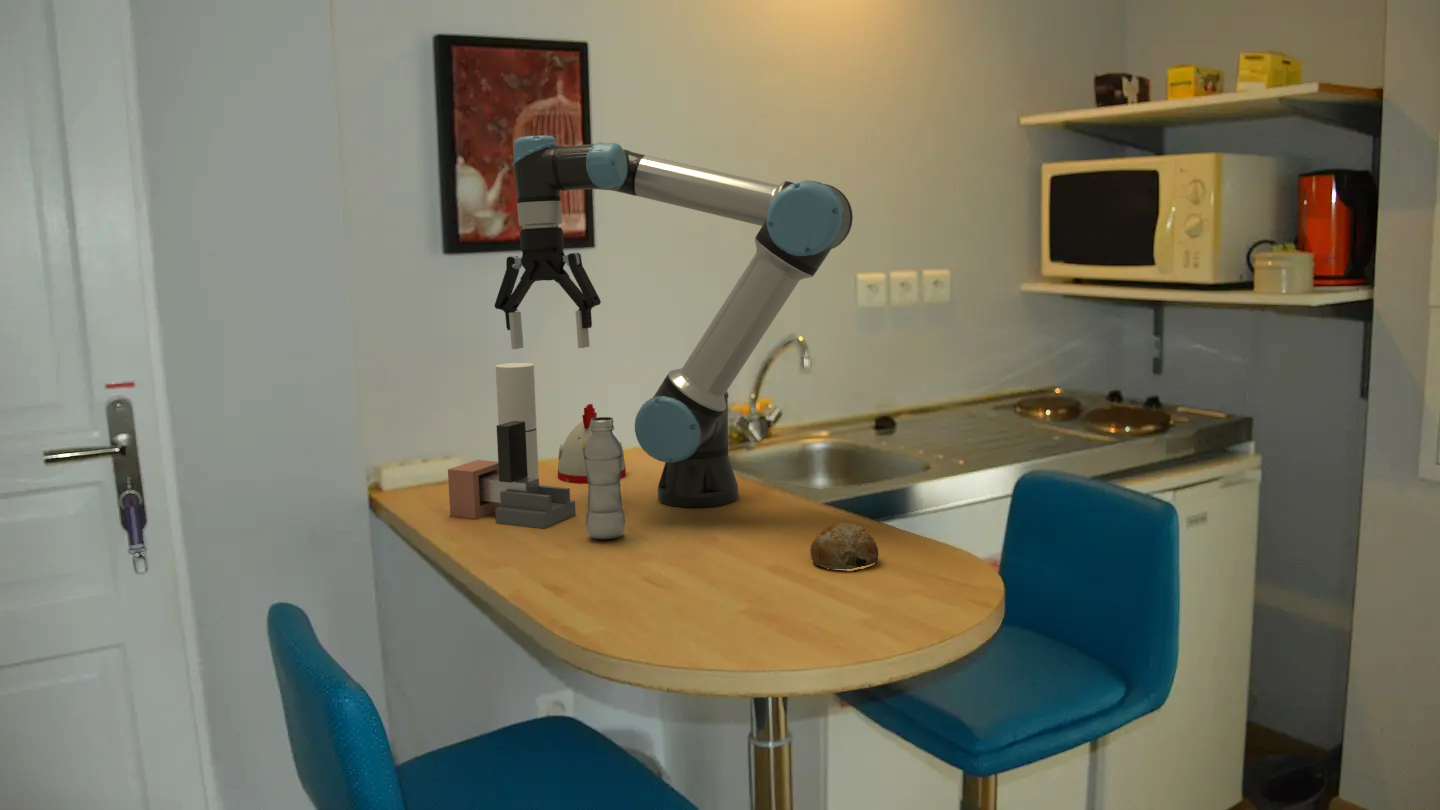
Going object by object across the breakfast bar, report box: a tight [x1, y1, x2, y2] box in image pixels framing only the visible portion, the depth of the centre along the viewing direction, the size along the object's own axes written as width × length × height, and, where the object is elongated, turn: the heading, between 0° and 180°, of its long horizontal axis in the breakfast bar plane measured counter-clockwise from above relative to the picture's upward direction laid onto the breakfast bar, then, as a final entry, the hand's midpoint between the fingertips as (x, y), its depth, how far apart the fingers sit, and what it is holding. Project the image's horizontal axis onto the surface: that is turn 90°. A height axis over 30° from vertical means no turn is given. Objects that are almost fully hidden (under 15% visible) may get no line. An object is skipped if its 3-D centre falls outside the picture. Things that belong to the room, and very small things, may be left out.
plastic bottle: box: [583, 416, 627, 540], centre depth 184 cm, size 6×7×20 cm
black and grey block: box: [478, 421, 540, 503], centre depth 200 cm, size 13×5×14 cm, turn 65°
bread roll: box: [809, 521, 879, 569], centre depth 170 cm, size 10×10×8 cm
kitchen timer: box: [557, 403, 627, 485], centre depth 231 cm, size 14×14×15 cm
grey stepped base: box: [494, 484, 576, 529], centre depth 198 cm, size 10×10×5 cm
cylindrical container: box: [495, 362, 540, 480], centre depth 216 cm, size 7×7×25 cm
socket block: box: [447, 459, 501, 520], centre depth 203 cm, size 6×9×9 cm, turn 154°
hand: (550, 348), depth 200 cm, fingers open, 13 cm apart
